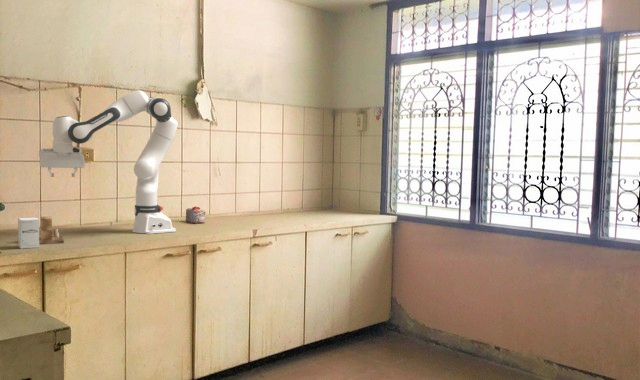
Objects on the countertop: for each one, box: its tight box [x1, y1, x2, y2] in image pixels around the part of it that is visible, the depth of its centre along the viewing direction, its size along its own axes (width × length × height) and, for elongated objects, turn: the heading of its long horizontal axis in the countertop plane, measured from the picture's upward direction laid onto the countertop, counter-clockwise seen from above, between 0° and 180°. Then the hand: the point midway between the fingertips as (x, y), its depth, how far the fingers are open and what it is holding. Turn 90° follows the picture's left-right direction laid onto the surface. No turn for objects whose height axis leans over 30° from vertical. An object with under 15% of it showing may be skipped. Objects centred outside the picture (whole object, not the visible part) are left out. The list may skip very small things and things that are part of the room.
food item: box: [185, 206, 206, 225], centre depth 321 cm, size 14×8×10 cm, turn 46°
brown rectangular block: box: [40, 216, 53, 240], centre depth 246 cm, size 4×7×10 cm, turn 29°
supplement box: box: [17, 217, 40, 250], centre depth 232 cm, size 7×7×13 cm
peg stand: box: [39, 228, 65, 245], centre depth 246 cm, size 14×14×5 cm
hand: (62, 176), depth 263 cm, fingers open, 8 cm apart
